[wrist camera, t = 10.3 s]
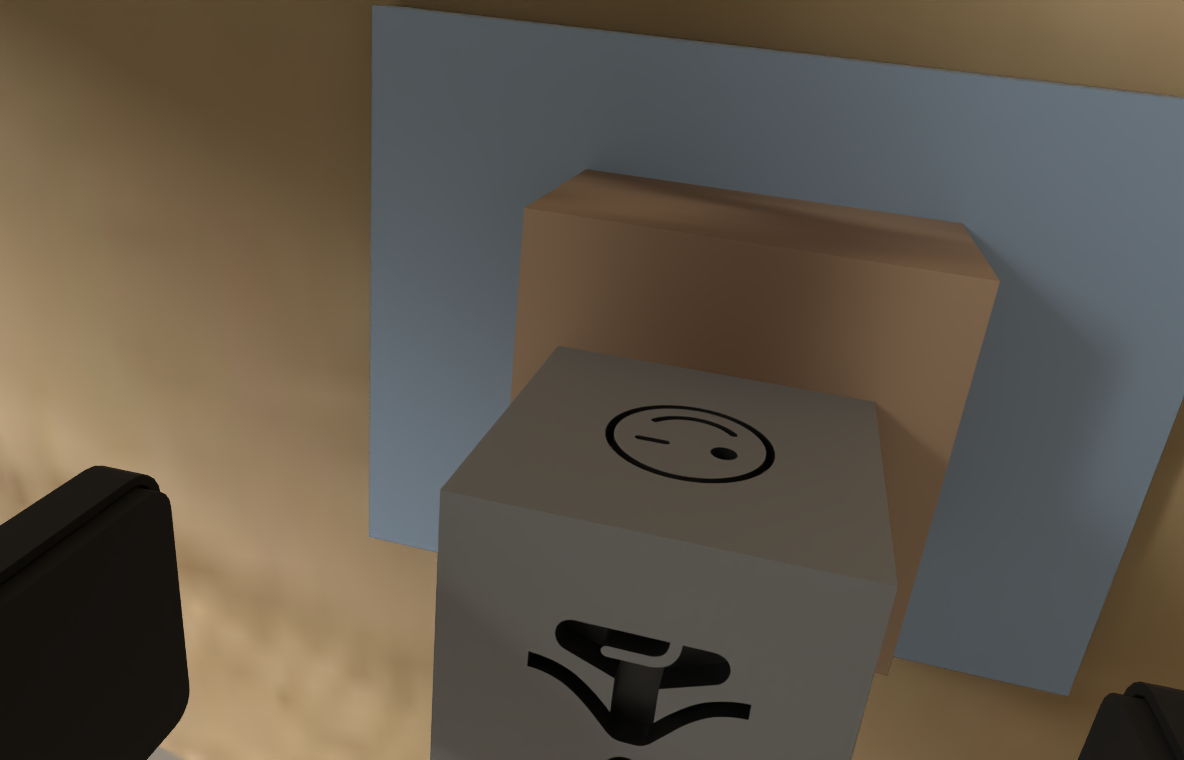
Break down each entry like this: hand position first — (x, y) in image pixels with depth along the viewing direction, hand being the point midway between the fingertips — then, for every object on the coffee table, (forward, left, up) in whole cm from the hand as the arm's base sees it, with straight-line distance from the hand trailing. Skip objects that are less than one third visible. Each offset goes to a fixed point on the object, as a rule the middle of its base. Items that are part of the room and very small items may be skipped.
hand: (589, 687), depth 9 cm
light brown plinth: (+1, 0, -10) cm, 10 cm away
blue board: (+1, 0, -11) cm, 11 cm away
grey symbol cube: (0, -1, -7) cm, 7 cm away
